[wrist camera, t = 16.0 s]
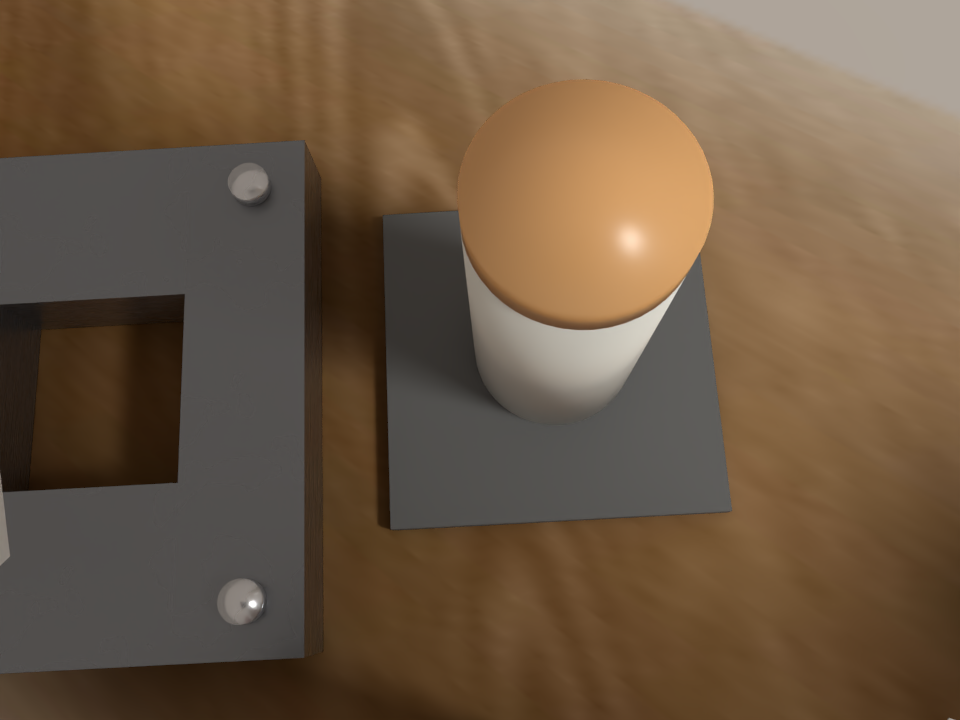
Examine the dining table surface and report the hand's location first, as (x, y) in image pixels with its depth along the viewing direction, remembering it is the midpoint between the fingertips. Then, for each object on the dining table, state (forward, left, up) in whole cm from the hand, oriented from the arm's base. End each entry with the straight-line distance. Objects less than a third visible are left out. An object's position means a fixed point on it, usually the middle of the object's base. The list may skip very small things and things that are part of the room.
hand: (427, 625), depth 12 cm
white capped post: (-3, -9, -19) cm, 21 cm away
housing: (+13, -8, -19) cm, 24 cm away
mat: (-3, -9, -19) cm, 21 cm away
